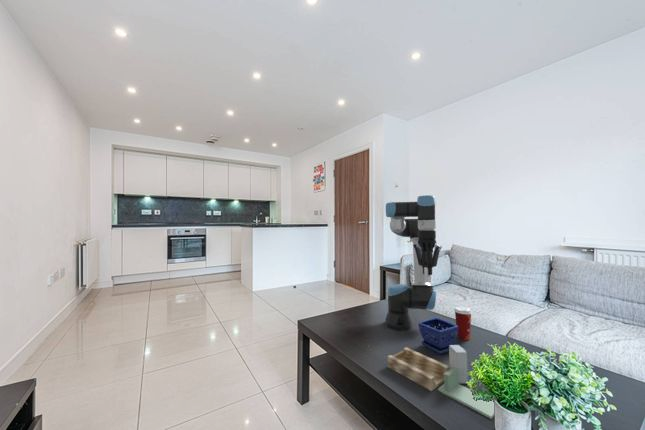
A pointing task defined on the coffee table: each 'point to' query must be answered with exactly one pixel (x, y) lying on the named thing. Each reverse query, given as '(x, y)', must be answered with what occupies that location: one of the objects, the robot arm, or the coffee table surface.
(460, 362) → the skincare box
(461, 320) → the coffee cup
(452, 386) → the lid
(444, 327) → the flower pot
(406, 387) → the coffee table surface
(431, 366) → the oak box
